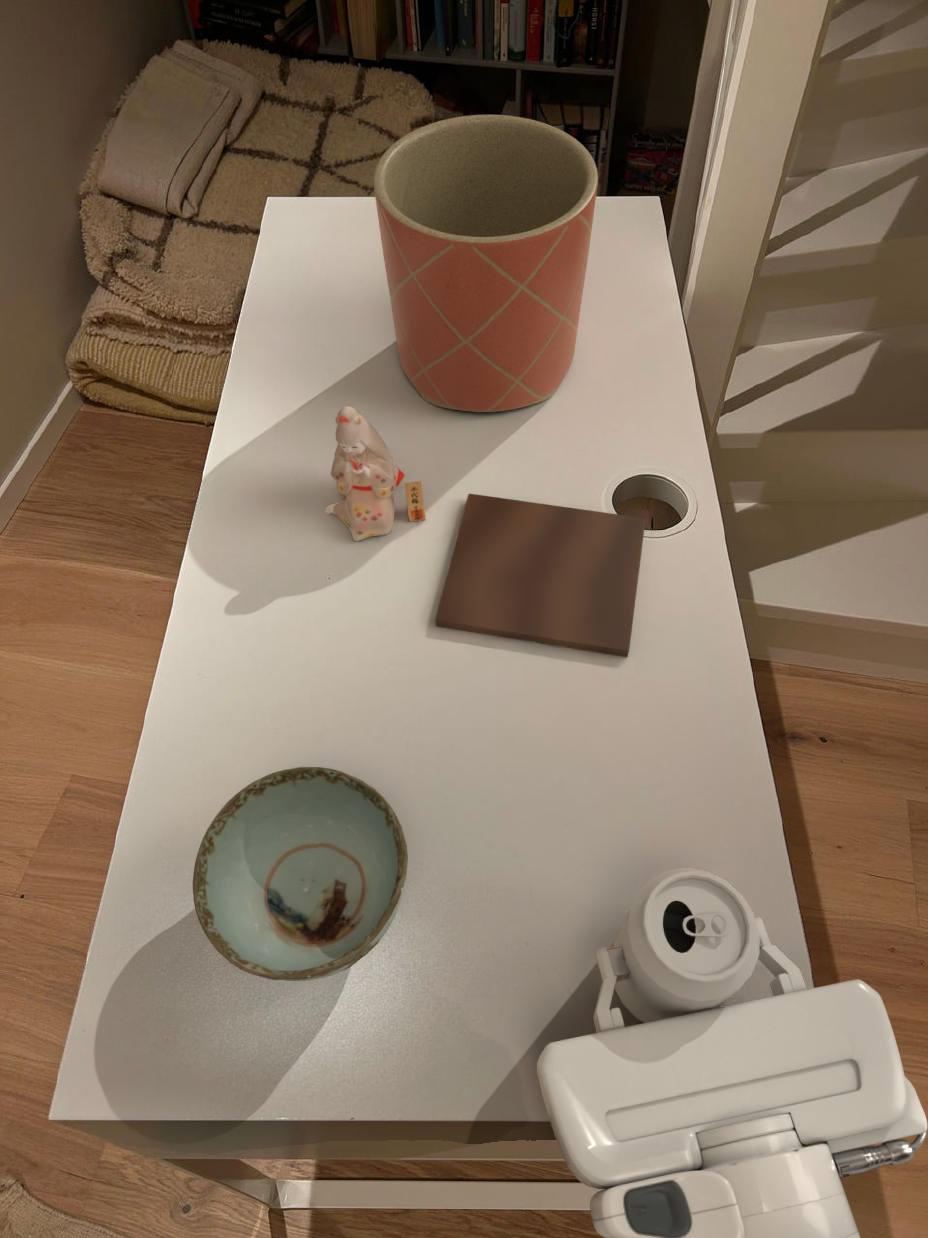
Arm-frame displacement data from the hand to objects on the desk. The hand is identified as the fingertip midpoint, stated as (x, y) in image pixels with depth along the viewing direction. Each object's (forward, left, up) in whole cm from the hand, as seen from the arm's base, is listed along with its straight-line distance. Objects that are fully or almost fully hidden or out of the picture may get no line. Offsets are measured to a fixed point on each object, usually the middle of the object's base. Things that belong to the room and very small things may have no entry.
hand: (676, 935), depth 56 cm
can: (0, +1, -7) cm, 7 cm away
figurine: (+29, -34, -7) cm, 45 cm away
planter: (+23, -56, -7) cm, 61 cm away
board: (+13, -30, -6) cm, 33 cm away
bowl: (+24, +1, -7) cm, 25 cm away
